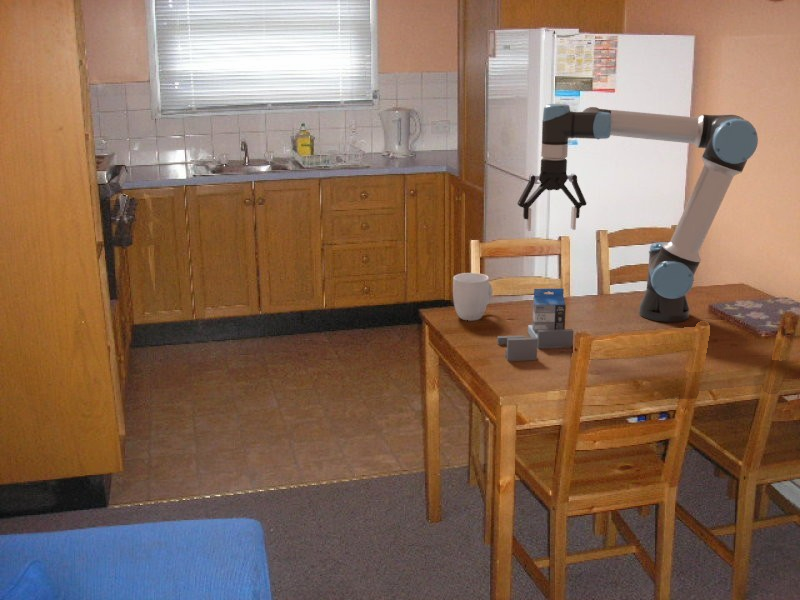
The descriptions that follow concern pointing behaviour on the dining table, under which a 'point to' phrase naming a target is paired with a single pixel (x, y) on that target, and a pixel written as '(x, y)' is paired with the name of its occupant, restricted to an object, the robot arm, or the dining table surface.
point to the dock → (552, 338)
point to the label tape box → (548, 310)
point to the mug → (471, 295)
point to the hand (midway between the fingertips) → (550, 229)
